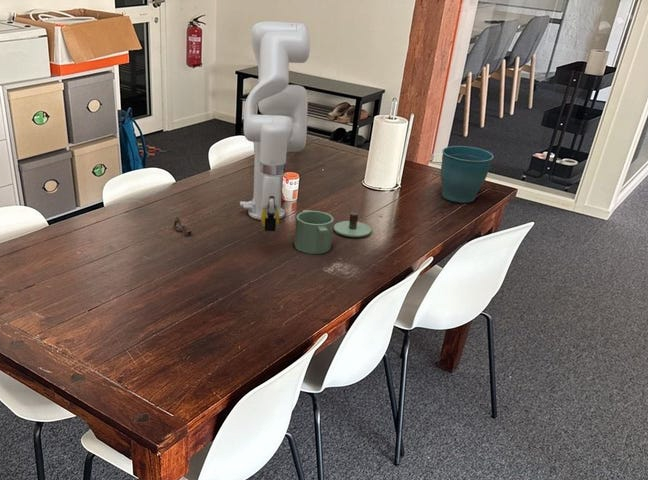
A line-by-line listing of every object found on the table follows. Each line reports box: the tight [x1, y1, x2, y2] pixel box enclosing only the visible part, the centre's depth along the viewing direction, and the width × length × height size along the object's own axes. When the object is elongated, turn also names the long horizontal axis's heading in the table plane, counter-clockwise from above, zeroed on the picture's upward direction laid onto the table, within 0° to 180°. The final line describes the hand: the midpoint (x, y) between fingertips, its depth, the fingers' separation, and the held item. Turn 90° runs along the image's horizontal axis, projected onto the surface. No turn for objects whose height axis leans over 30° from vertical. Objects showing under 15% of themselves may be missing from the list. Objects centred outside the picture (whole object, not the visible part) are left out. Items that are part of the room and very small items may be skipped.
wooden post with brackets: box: [172, 215, 192, 237], centre depth 220 cm, size 2×8×4 cm, turn 44°
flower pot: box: [440, 145, 495, 204], centre depth 252 cm, size 18×18×17 cm
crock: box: [294, 209, 335, 255], centre depth 212 cm, size 11×17×10 cm
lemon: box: [260, 206, 280, 228], centre depth 205 cm, size 6×6×8 cm
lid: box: [333, 211, 372, 238], centre depth 224 cm, size 12×12×6 cm
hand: (269, 225), depth 206 cm, fingers closed on lemon, 5 cm apart
